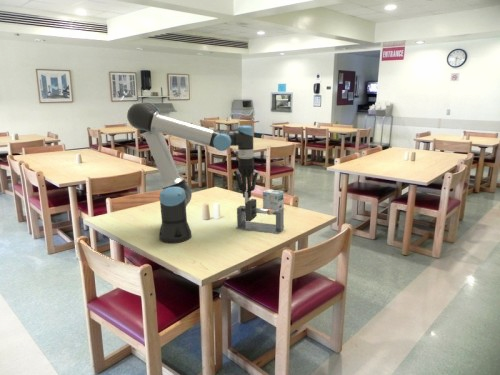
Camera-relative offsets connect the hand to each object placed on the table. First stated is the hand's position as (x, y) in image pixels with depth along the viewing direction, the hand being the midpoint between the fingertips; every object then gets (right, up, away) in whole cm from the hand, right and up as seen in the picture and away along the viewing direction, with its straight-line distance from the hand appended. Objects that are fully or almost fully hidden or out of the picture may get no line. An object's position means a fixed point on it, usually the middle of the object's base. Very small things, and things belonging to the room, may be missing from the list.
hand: (247, 203), depth 187 cm
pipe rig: (+7, -12, 0) cm, 14 cm away
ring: (+2, -8, +1) cm, 8 cm away
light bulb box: (+15, -5, +32) cm, 35 cm away
